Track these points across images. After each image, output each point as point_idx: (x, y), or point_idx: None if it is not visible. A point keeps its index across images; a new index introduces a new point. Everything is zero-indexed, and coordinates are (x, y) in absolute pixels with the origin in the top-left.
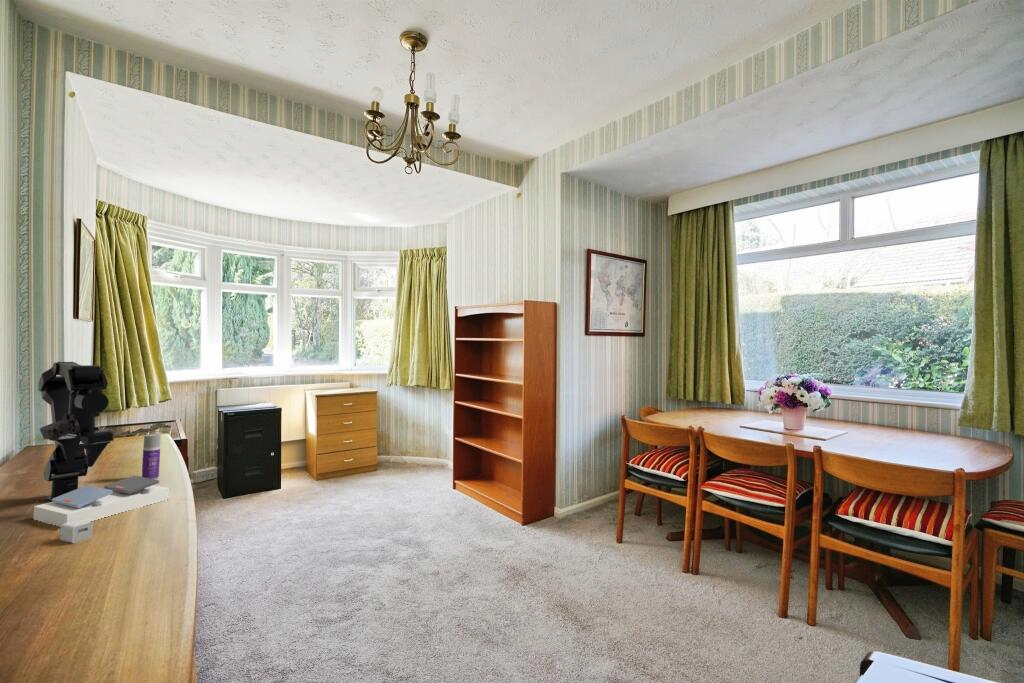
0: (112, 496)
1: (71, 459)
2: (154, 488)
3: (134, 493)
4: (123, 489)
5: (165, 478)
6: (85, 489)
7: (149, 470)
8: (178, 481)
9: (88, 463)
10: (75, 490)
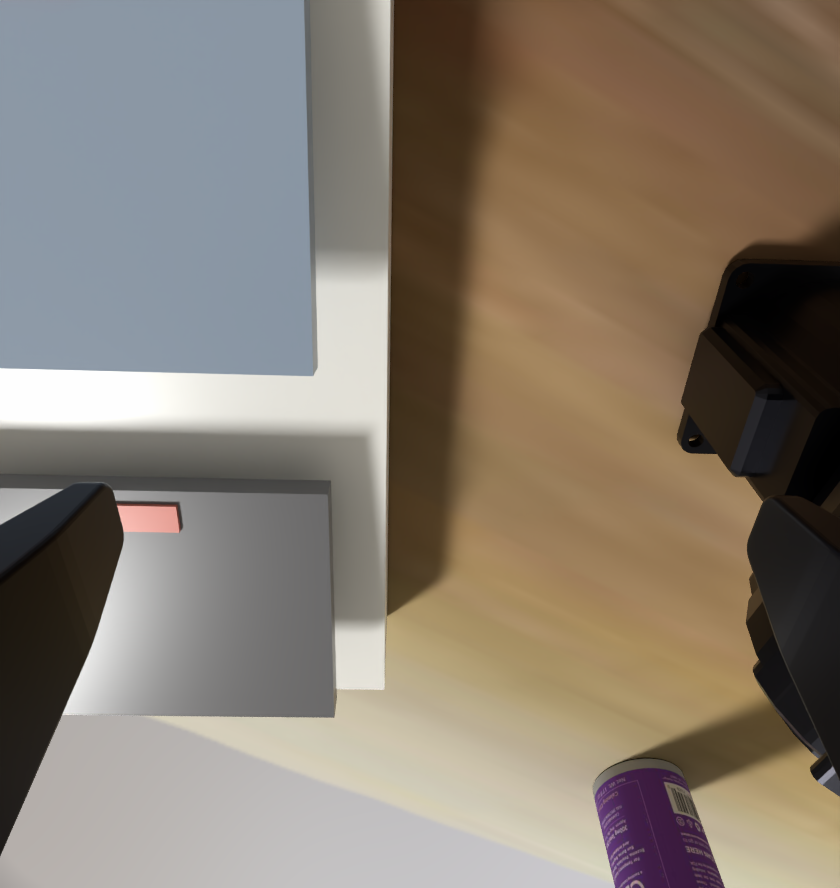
0: (79, 404)
1: (777, 585)
2: None
3: None
4: (20, 497)
5: (552, 808)
6: (169, 280)
7: (628, 836)
8: (419, 803)
9: (17, 523)
10: (278, 224)
